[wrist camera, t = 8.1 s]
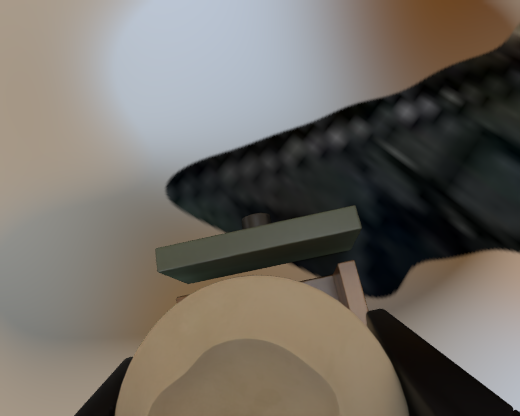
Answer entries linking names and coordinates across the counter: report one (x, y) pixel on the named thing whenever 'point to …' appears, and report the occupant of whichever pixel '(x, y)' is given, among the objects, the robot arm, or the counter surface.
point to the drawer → (274, 252)
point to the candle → (260, 357)
